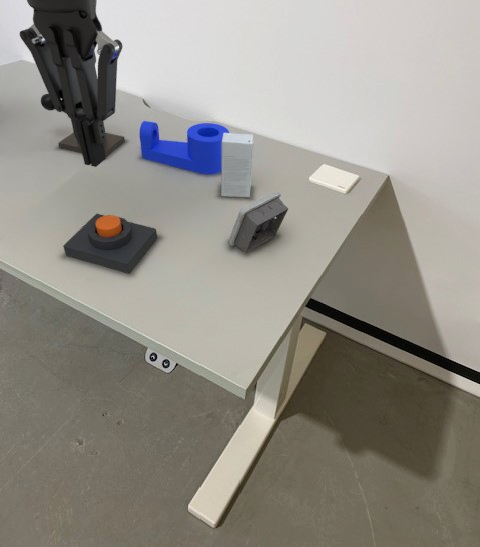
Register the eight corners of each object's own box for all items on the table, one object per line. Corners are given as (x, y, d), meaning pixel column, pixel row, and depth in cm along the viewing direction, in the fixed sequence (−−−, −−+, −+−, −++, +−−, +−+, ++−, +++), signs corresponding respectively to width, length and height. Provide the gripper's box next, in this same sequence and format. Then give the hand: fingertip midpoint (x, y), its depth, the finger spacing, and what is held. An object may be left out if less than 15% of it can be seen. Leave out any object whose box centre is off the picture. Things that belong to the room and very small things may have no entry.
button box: (65, 255, 71) (60, 237, 68) (98, 223, 78) (94, 204, 75) (129, 273, 68) (126, 255, 66) (157, 238, 75) (155, 220, 73)
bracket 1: (59, 147, 97) (40, 76, 87) (81, 132, 104) (67, 64, 93) (104, 158, 95) (91, 86, 84) (125, 141, 101) (114, 72, 91)
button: (92, 234, 70) (90, 226, 68) (105, 221, 72) (103, 212, 71) (113, 240, 69) (112, 231, 68) (126, 226, 72) (124, 218, 70)
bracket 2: (232, 158, 98) (233, 126, 93) (221, 177, 92) (222, 144, 86) (153, 144, 101) (150, 113, 96) (138, 162, 94) (134, 130, 89)
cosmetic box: (250, 187, 89) (254, 133, 81) (249, 198, 86) (254, 143, 78) (221, 185, 89) (223, 131, 81) (220, 196, 86) (221, 141, 78)
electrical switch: (263, 225, 80) (271, 184, 73) (282, 240, 78) (293, 200, 71) (227, 245, 75) (232, 204, 68) (246, 262, 73) (254, 221, 66)
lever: (44, 115, 96) (34, 100, 94) (54, 109, 99) (44, 94, 97) (84, 92, 89) (74, 75, 87) (94, 86, 91) (84, 70, 89)
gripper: (-22, -38, 44) (40, 163, 60) (89, -24, 42) (122, 183, 58) (26, -46, 49) (71, 142, 66) (127, -34, 47) (148, 159, 63)
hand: (95, 161), depth 62 cm, fingers closed
